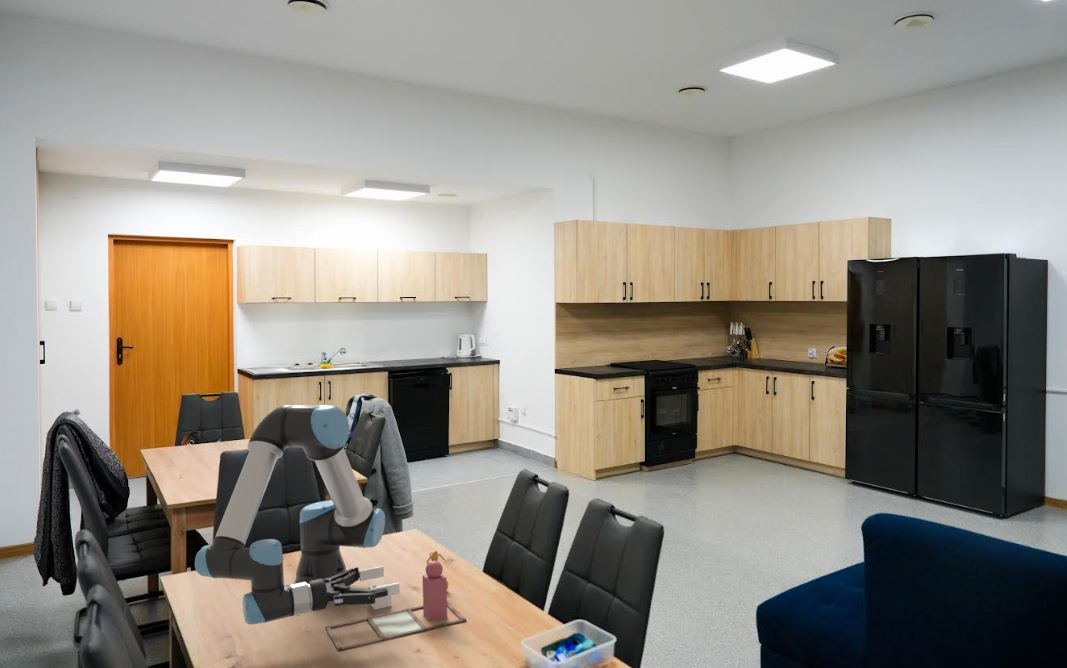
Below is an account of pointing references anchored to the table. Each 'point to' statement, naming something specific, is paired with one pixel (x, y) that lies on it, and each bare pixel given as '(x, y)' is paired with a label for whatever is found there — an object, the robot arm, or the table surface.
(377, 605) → the die
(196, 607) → the table surface
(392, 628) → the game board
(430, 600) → the pawn
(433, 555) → the figurine
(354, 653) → the table surface
